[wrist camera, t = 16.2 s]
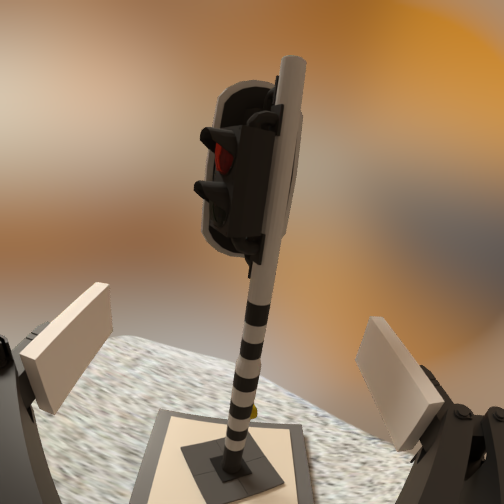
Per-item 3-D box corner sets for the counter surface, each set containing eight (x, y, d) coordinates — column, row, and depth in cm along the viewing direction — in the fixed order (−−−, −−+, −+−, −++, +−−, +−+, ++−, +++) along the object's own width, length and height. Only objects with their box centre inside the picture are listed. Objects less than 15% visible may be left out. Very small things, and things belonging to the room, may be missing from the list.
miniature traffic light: (245, 428, 26) (302, 87, 18) (283, 483, 20) (391, 73, 11) (172, 445, 23) (194, 59, 14) (202, 510, 16) (256, 8, 8)
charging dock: (129, 515, 15) (126, 509, 15) (160, 415, 28) (159, 406, 27) (313, 533, 16) (318, 528, 15) (299, 431, 28) (302, 422, 28)
